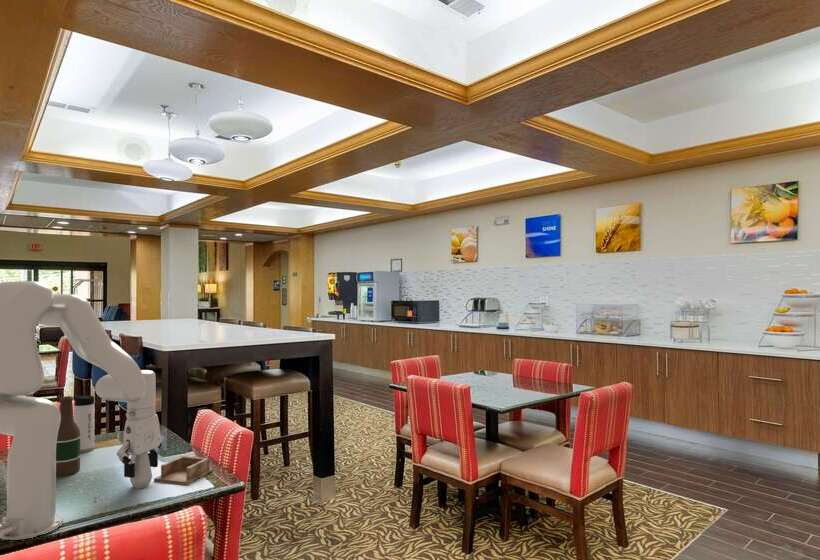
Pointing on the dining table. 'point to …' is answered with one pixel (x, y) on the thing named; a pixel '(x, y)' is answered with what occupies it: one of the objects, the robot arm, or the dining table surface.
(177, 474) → the walnut U-rest
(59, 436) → the beer bottle
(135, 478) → the salt shaker
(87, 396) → the travel mug
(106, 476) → the dining table surface
